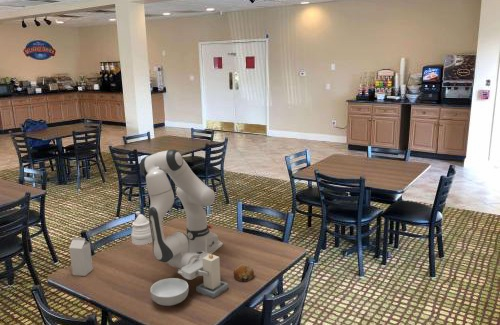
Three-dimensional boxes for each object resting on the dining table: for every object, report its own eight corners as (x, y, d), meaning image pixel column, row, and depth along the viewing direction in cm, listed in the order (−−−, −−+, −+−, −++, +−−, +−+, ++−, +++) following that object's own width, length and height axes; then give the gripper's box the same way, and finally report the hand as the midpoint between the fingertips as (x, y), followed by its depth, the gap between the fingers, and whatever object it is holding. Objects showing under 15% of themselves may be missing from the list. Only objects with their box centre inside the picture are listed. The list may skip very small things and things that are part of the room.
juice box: (211, 281, 201) (210, 251, 197) (220, 284, 198) (219, 254, 194) (203, 286, 197) (202, 255, 193) (212, 289, 193) (211, 258, 190)
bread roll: (255, 282, 211) (257, 265, 213) (249, 283, 202) (251, 265, 203) (236, 279, 215) (238, 263, 216) (229, 280, 205) (231, 263, 207)
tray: (211, 282, 205) (211, 277, 204) (228, 288, 199) (228, 283, 198) (196, 291, 197) (196, 286, 196) (213, 298, 191) (213, 293, 190)
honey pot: (127, 243, 252) (124, 214, 248) (140, 235, 264) (137, 207, 260) (145, 246, 248) (143, 217, 244) (157, 237, 259) (155, 209, 255)
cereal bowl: (188, 310, 182) (187, 295, 180) (148, 313, 181) (147, 298, 179) (190, 290, 198) (189, 276, 197) (154, 292, 197) (153, 278, 196)
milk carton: (85, 276, 214) (81, 241, 209) (72, 275, 215) (68, 240, 211) (93, 269, 221) (89, 235, 216) (80, 268, 222) (76, 234, 218)
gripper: (174, 265, 194) (197, 273, 186) (205, 249, 210) (226, 256, 202) (175, 278, 196) (197, 286, 188) (205, 261, 212) (227, 268, 204)
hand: (213, 271), depth 195 cm, fingers closed on juice box, 5 cm apart
